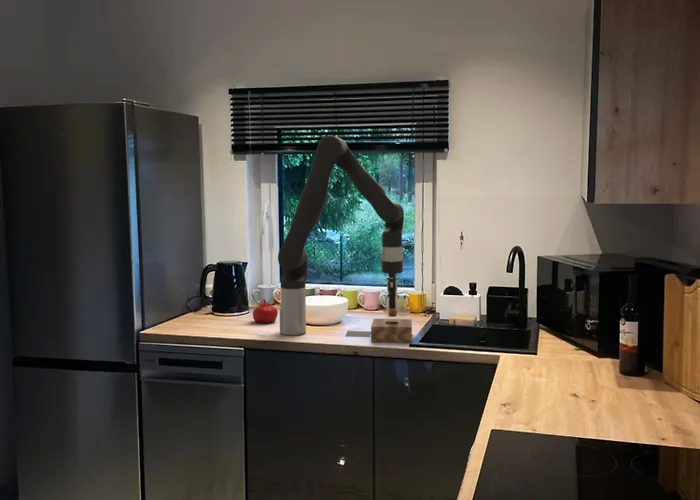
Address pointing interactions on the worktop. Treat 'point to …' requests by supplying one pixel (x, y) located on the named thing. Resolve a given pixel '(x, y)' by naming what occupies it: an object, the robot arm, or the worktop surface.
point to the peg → (392, 311)
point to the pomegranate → (265, 313)
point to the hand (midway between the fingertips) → (392, 307)
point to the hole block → (391, 331)
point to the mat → (358, 334)
